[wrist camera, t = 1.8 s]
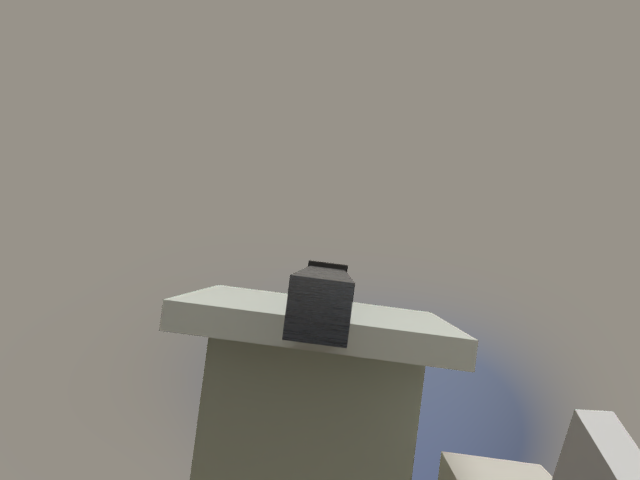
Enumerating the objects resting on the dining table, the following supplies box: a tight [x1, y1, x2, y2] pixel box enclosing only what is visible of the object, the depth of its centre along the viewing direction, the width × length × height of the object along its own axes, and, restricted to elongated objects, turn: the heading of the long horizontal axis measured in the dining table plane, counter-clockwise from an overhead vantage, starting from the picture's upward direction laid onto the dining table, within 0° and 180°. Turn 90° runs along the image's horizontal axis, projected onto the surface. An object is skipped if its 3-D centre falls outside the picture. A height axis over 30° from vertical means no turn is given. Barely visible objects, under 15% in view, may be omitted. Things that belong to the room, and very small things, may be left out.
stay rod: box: [282, 261, 355, 348], centre depth 40 cm, size 26×3×3 cm, turn 179°
